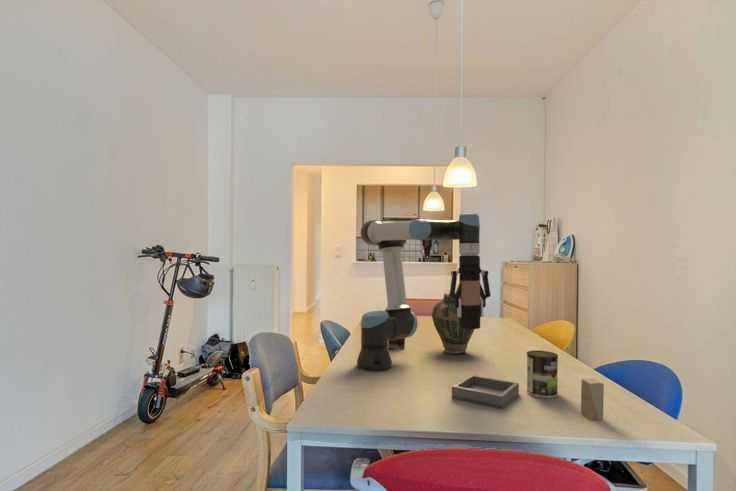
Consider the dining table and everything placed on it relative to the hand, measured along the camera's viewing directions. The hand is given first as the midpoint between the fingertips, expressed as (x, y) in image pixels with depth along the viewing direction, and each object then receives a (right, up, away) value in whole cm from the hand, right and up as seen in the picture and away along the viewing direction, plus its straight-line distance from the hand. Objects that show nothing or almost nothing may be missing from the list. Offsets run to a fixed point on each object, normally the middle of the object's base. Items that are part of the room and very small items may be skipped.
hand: (470, 316), depth 163 cm
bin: (+3, -26, -11) cm, 28 cm away
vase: (+5, -27, +54) cm, 60 cm away
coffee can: (+24, -26, -8) cm, 36 cm away
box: (+30, -26, -30) cm, 50 cm away
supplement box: (-23, -27, +63) cm, 72 cm away
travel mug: (0, -4, 0) cm, 4 cm away
